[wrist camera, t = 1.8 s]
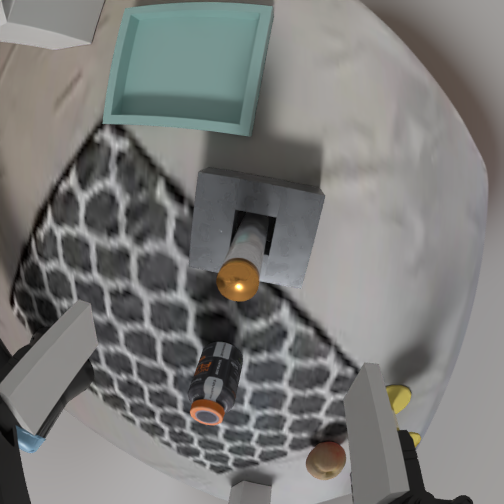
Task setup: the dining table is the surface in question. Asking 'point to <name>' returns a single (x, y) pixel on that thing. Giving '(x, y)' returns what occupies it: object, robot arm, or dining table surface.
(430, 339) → the dining table surface
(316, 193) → the block
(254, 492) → the soap bottle
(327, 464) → the fruit
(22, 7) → the milk carton
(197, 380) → the pill bottle
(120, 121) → the tray
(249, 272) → the pin
